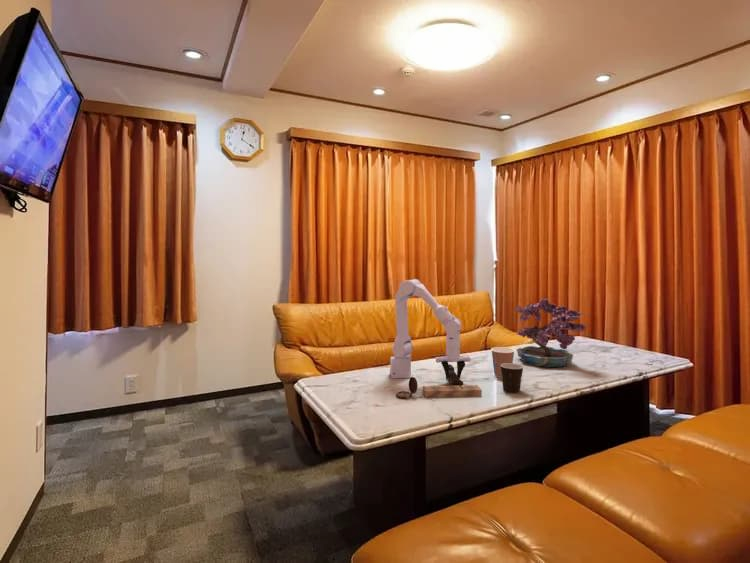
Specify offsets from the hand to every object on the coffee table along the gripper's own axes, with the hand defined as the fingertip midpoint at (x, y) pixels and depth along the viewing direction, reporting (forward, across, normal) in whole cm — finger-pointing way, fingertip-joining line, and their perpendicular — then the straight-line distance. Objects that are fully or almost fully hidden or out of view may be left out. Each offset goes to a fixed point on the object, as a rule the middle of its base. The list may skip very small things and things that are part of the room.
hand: (452, 378), depth 176 cm
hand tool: (+2, -1, 0) cm, 2 cm away
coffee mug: (+2, +20, -12) cm, 23 cm away
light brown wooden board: (+2, -4, -14) cm, 15 cm away
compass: (+2, -22, -16) cm, 27 cm away
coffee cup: (+2, +25, +9) cm, 27 cm away
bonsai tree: (+2, +55, +27) cm, 61 cm away
